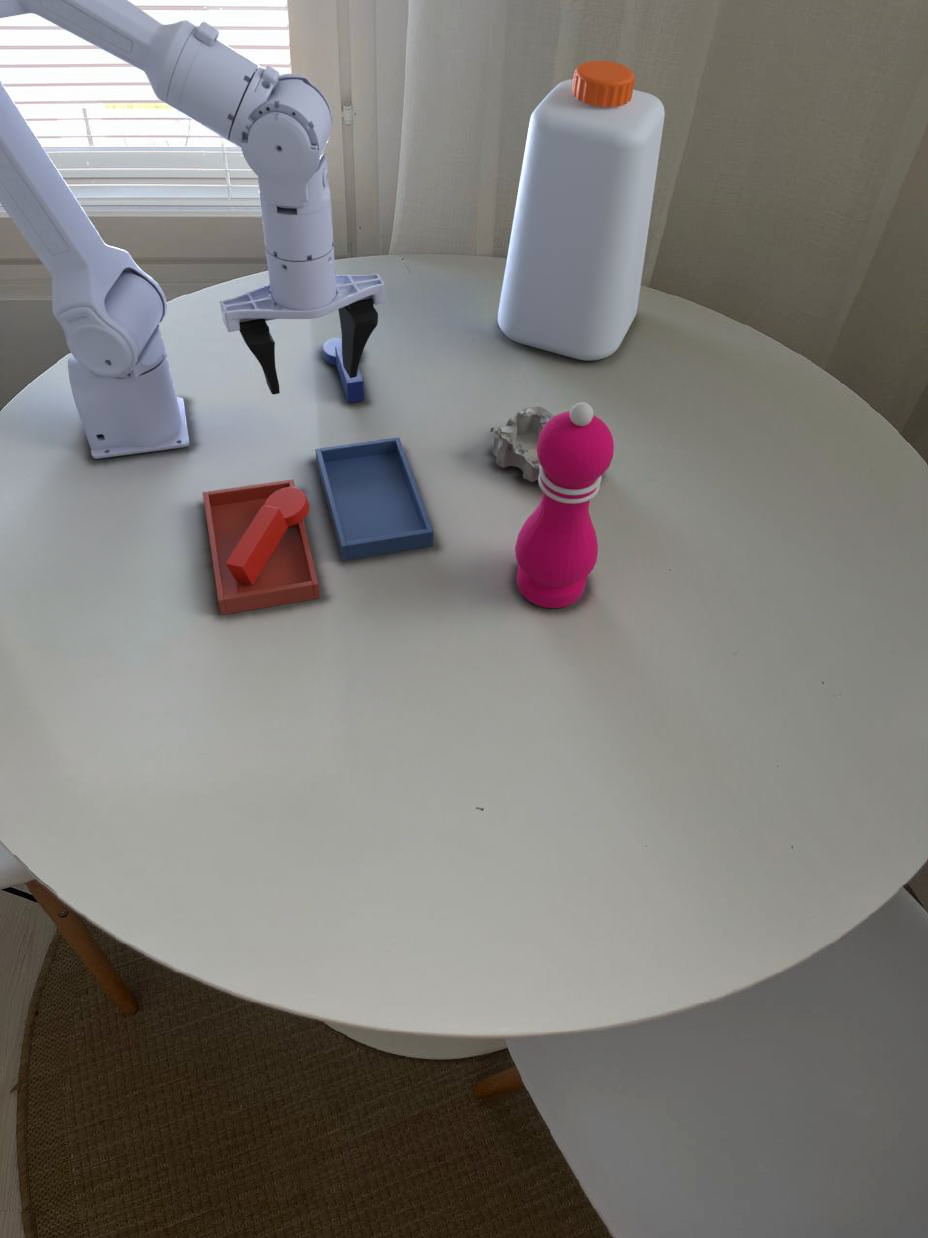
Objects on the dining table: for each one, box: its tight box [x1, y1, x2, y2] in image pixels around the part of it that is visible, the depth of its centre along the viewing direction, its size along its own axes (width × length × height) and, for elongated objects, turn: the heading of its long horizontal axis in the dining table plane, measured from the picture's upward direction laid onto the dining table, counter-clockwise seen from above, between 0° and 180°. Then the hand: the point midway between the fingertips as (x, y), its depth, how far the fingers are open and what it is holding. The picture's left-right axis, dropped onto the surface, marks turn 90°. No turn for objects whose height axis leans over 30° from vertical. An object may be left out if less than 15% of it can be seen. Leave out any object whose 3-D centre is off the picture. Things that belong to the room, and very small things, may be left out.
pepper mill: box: [514, 401, 615, 609], centre depth 75 cm, size 7×7×20 cm
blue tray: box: [315, 436, 434, 562], centre depth 88 cm, size 9×14×2 cm, turn 16°
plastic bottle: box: [497, 60, 666, 362], centre depth 100 cm, size 15×15×28 cm
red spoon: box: [226, 486, 311, 585], centre depth 82 cm, size 11×4×3 cm, turn 159°
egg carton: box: [489, 406, 555, 483], centre depth 92 cm, size 11×8×4 cm
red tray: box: [202, 478, 321, 616], centre depth 83 cm, size 9×14×2 cm, turn 16°
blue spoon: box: [322, 336, 365, 404], centre depth 101 cm, size 11×4×3 cm, turn 16°
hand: (312, 379), depth 87 cm, fingers open, 7 cm apart
